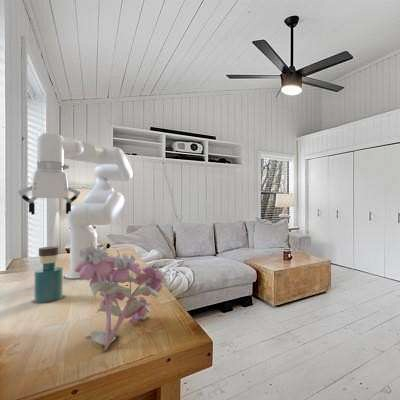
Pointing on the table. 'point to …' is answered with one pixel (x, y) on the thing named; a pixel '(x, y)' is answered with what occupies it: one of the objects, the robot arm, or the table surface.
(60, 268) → the bottle
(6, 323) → the table surface
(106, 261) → the flower
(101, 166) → the robot arm
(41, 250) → the brown round puck
